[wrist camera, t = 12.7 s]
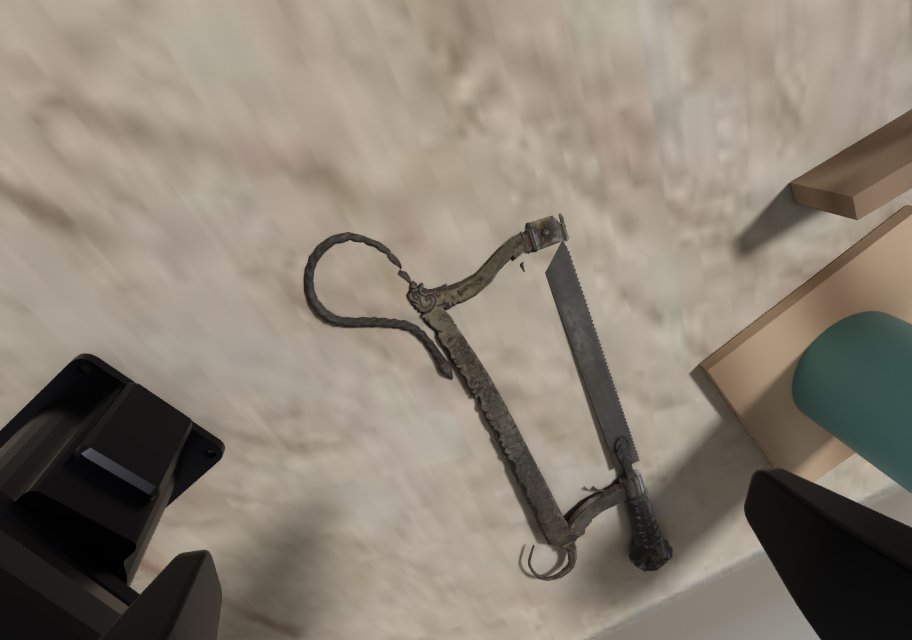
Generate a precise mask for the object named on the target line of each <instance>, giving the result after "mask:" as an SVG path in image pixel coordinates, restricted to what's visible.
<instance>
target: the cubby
mask: <svg viewBox="0 0 912 640" xmlns="http://www.w3.org/2000/svg"><path fill="white" fill-rule="evenodd" d="M790 184H791V188H792V192H793V196H794V200H795V203H796V204H799V205H803V206H807V207H810V208H814V209H818V210H822V211H825V212H829V213H833V214H836V215H840V216H844V217H847V218H851V219H855V220H858V219H860V218H862V217H864V216H865V215H867V214H869V213H870V212H872V211H874V210H875V209H877V208H879V207H880V206H882V205H884V204H886V203H887V202H889V201H891V200H892V199H894V198H896V197H897V196H899V195H901V194H903V193H904V192H906V191H908V190H909V189H911V188H912V110H910V111H909V112H907V113H905V114H904V115H902V116H900V117H899V118H897V119H895V120H894V121H892V122H890V123H889V124H887V125H885V126H884V127H882V128H880V129H879V130H877V131H875V132H874V133H872V134H870V135H869V136H867V137H865V138H864V139H862V140H860V141H859V142H857V143H855V144H854V145H852V146H850V147H849V148H847V149H845V150H844V151H842V152H840V153H839V154H837V155H835V156H834V157H832V158H830V159H829V160H827V161H825V162H824V163H822V164H820V165H819V166H817V167H815V168H814V169H812V170H811V171H809V172H807V173H806V174H804V175H802V176H801V177H799V178H797V179H796V180H794V181H792V182H791V183H790Z"/></svg>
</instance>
